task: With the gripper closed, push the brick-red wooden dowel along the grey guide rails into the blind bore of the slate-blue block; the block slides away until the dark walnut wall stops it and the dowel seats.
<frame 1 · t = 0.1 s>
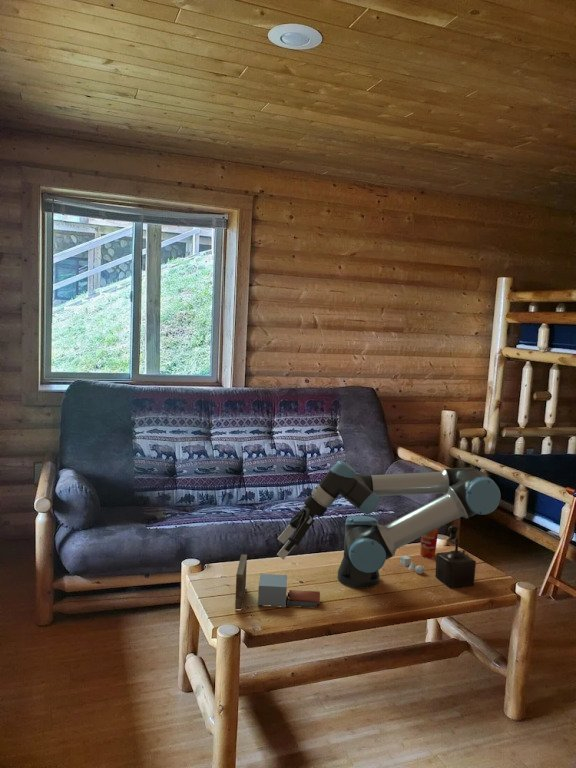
hand: (280, 548, 199), 15 cm above the table, tool tilted 35°, fingers open, 13 cm apart
dowel: (304, 602, 194), on the table
game pieces: (412, 569, 226), on the table
block: (272, 590, 194), point 4 cm above the table, slide at 0.0 cm
paper cup: (427, 555, 239), on the table
black joystick: (451, 578, 219), on the table
wall: (240, 599, 194), on the table
rails: (301, 602, 194), on the table
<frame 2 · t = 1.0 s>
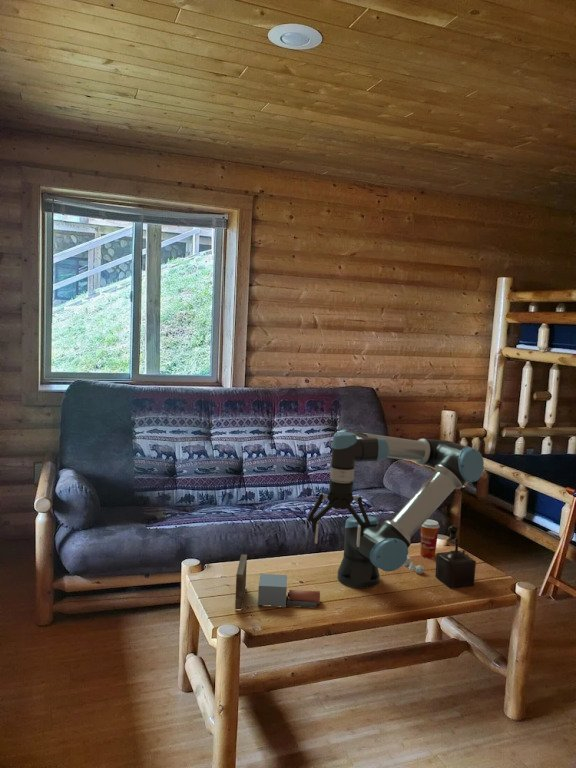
hand: (336, 543, 192), 20 cm above the table, tool pointing down, fingers open, 13 cm apart
nothing on the table moved.
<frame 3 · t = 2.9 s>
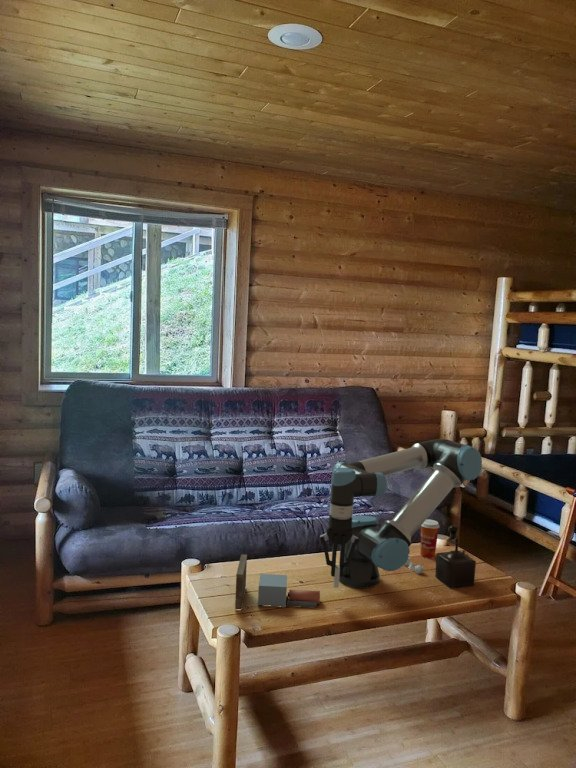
hand: (336, 585, 193), 6 cm above the table, tool pointing down, fingers closed
nothing on the table moved.
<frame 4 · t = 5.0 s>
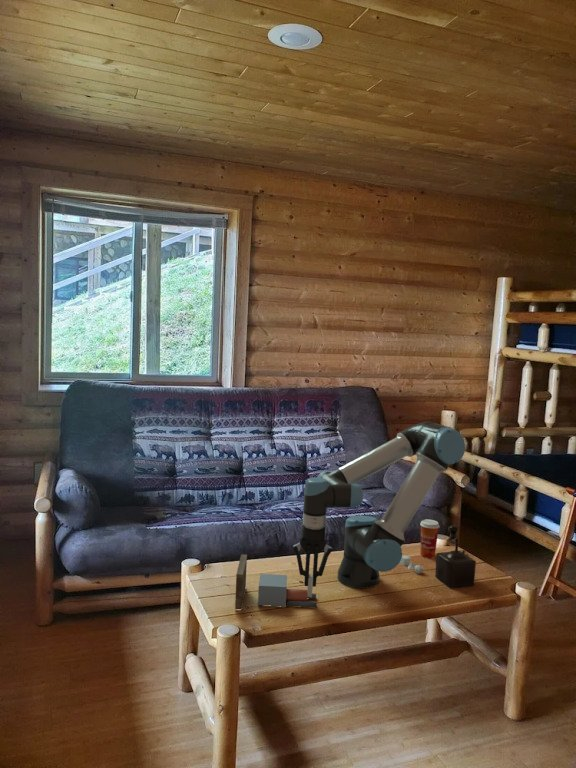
hand: (309, 595, 194), 3 cm above the table, tool pointing down, fingers closed
dowel: (291, 601, 194), on the table, tilted 7°, touching gripper
everything else where it was.
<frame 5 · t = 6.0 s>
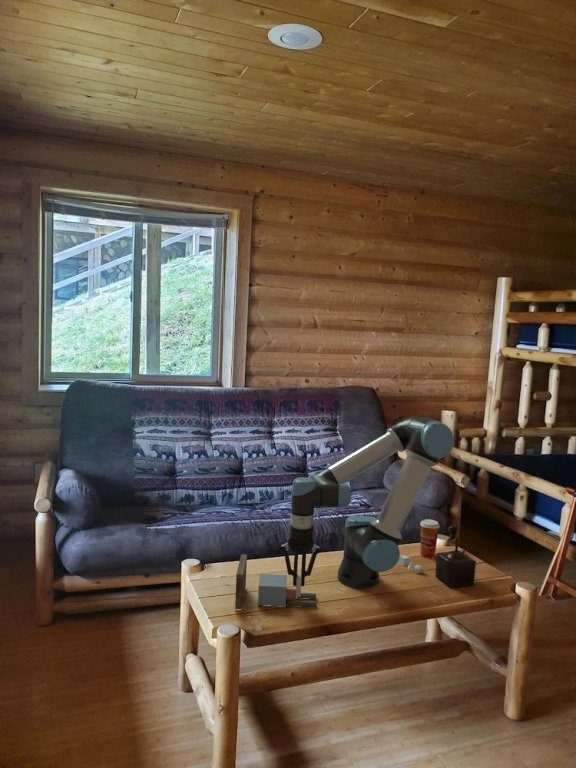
hand: (298, 594, 194), 2 cm above the table, tool pointing down, fingers closed
dowel: (280, 600, 194), on the table, tilted 6°, touching gripper
everything else where it was.
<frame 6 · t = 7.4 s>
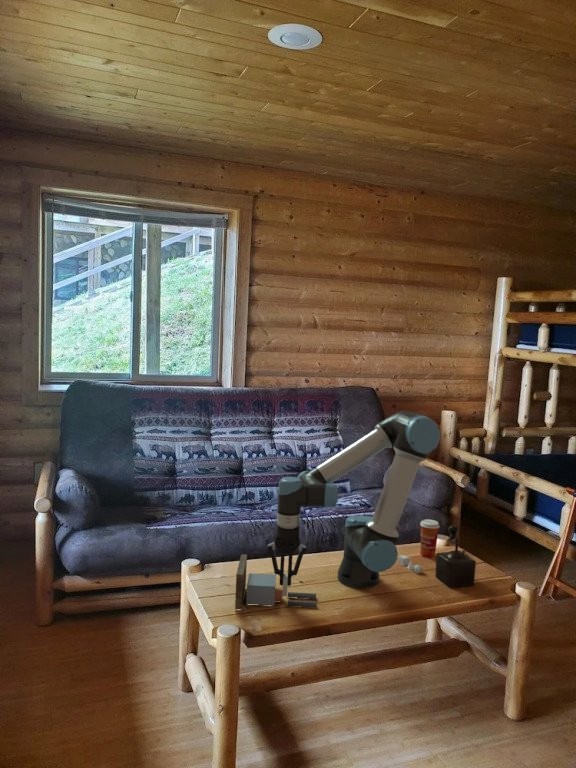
hand: (284, 594, 194), 2 cm above the table, tool pointing down, fingers closed
dowel: (267, 601, 194), on the table
block: (261, 589, 194), point 4 cm above the table, slide at 3.7 cm
everything else where it was.
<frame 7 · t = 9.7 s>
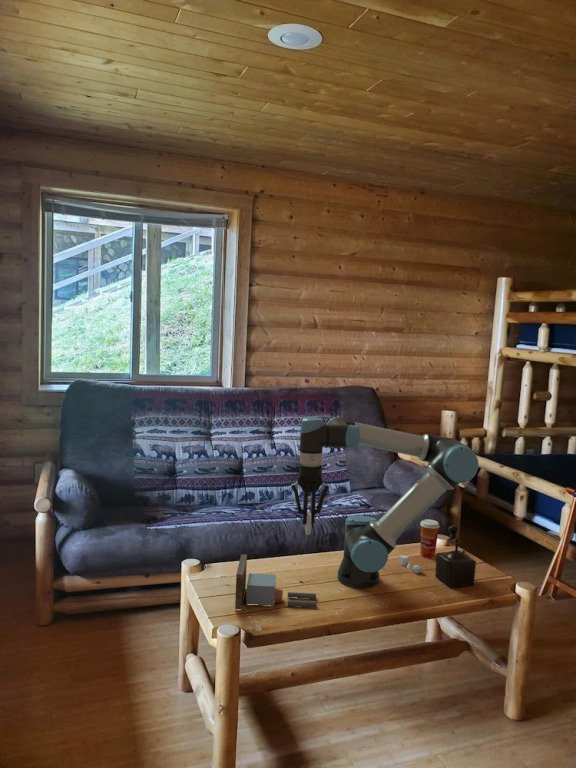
hand: (308, 533, 198), 22 cm above the table, tool pointing down, fingers closed
nothing on the table moved.
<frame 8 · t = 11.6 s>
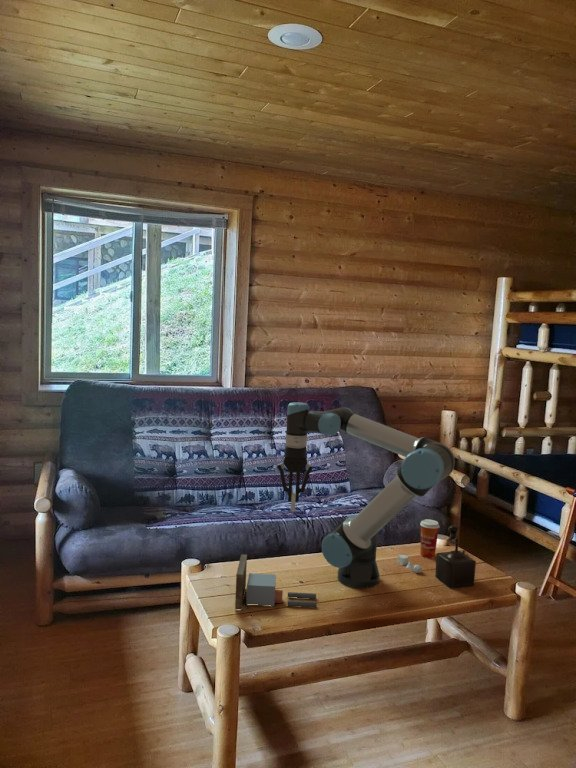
hand: (292, 510, 212), 24 cm above the table, tool pointing down, fingers closed
dowel: (267, 600, 194), on the table, tilted 19°
at the end: block slide at 3.7 cm; dowel 0.3 cm from the target spot on the block, point 0.0 cm above the block's base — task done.
